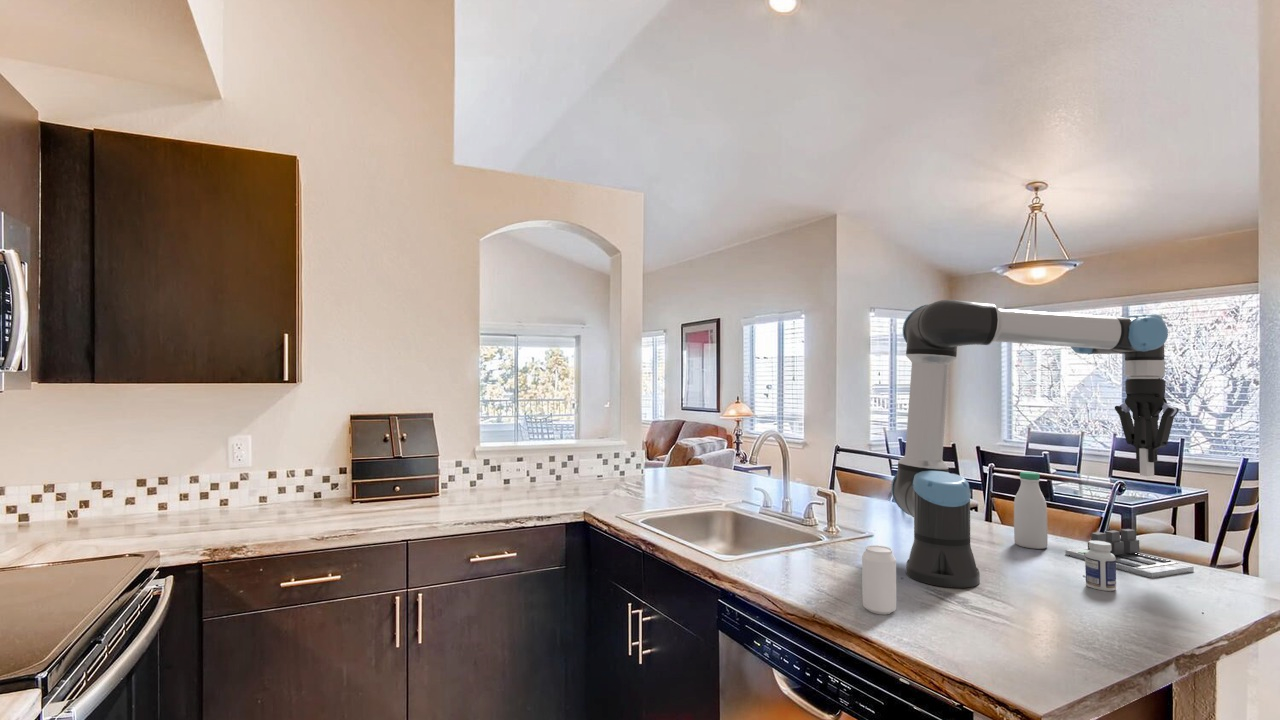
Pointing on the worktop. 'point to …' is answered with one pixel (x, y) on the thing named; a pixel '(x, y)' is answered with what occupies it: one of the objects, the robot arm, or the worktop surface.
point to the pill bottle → (1100, 566)
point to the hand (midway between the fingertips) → (1147, 475)
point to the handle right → (1129, 541)
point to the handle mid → (1115, 542)
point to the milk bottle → (1030, 513)
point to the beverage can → (879, 580)
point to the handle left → (1097, 537)
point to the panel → (1141, 564)
